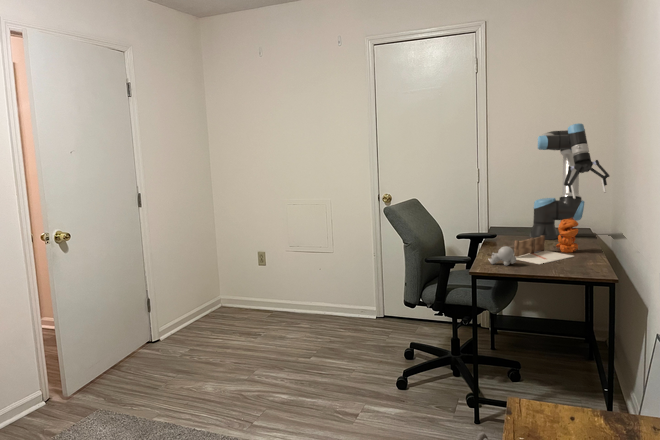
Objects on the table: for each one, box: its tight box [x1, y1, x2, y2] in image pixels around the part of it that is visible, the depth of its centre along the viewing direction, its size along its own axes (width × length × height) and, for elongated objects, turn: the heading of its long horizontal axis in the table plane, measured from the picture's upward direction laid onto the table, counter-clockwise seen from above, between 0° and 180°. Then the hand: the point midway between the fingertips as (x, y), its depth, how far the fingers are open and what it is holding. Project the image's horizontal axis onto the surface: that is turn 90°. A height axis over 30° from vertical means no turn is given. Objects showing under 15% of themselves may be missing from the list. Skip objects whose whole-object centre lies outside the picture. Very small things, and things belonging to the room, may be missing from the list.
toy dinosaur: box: [555, 217, 579, 254], centre depth 258 cm, size 11×11×18 cm
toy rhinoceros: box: [488, 245, 517, 267], centre depth 235 cm, size 7×12×8 cm, turn 66°
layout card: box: [516, 250, 575, 265], centre depth 250 cm, size 22×26×1 cm
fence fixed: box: [529, 235, 546, 254], centre depth 257 cm, size 11×2×8 cm, turn 126°
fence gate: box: [513, 238, 532, 257], centre depth 250 cm, size 13×2×8 cm, turn 126°
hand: (589, 195), depth 247 cm, fingers open, 13 cm apart
